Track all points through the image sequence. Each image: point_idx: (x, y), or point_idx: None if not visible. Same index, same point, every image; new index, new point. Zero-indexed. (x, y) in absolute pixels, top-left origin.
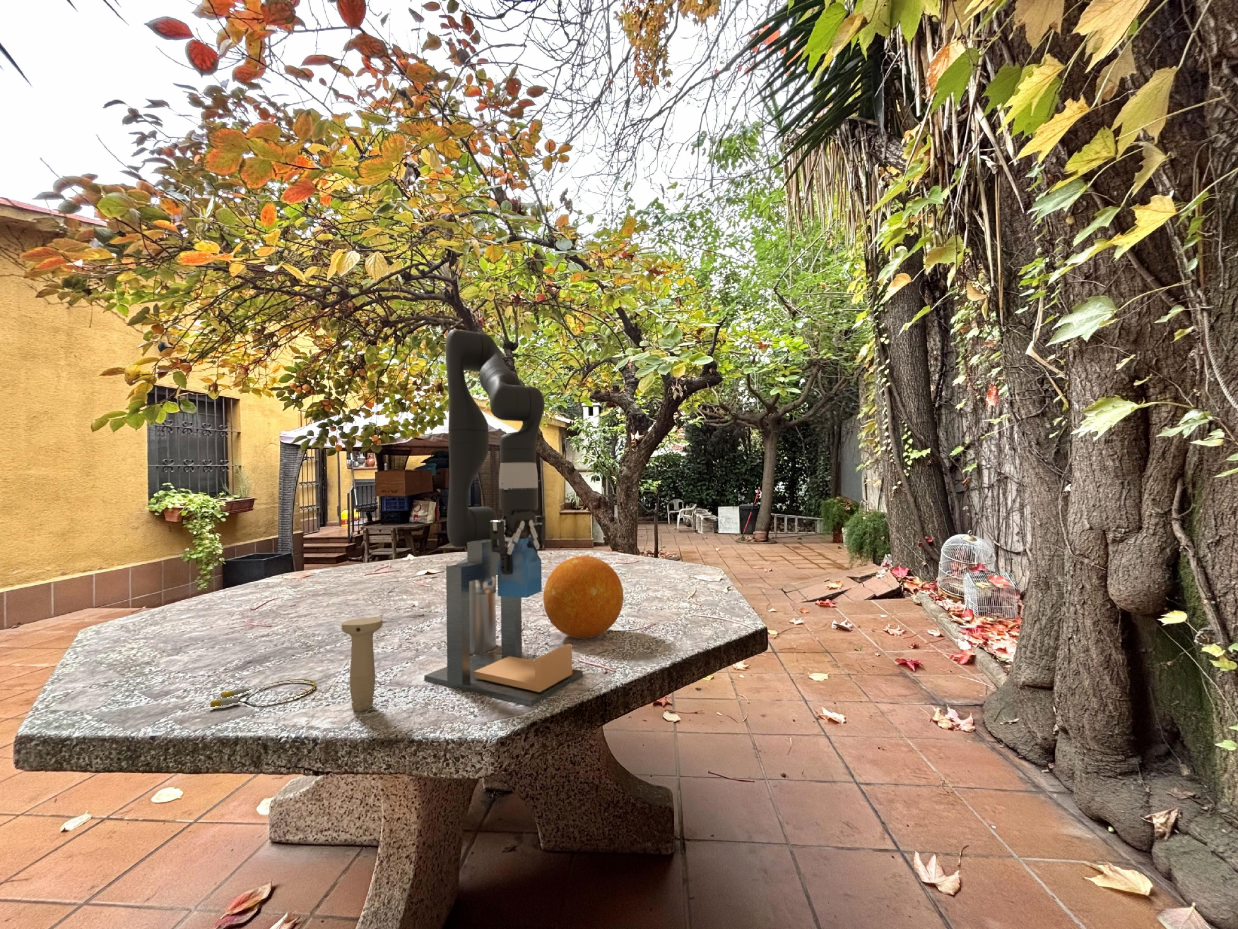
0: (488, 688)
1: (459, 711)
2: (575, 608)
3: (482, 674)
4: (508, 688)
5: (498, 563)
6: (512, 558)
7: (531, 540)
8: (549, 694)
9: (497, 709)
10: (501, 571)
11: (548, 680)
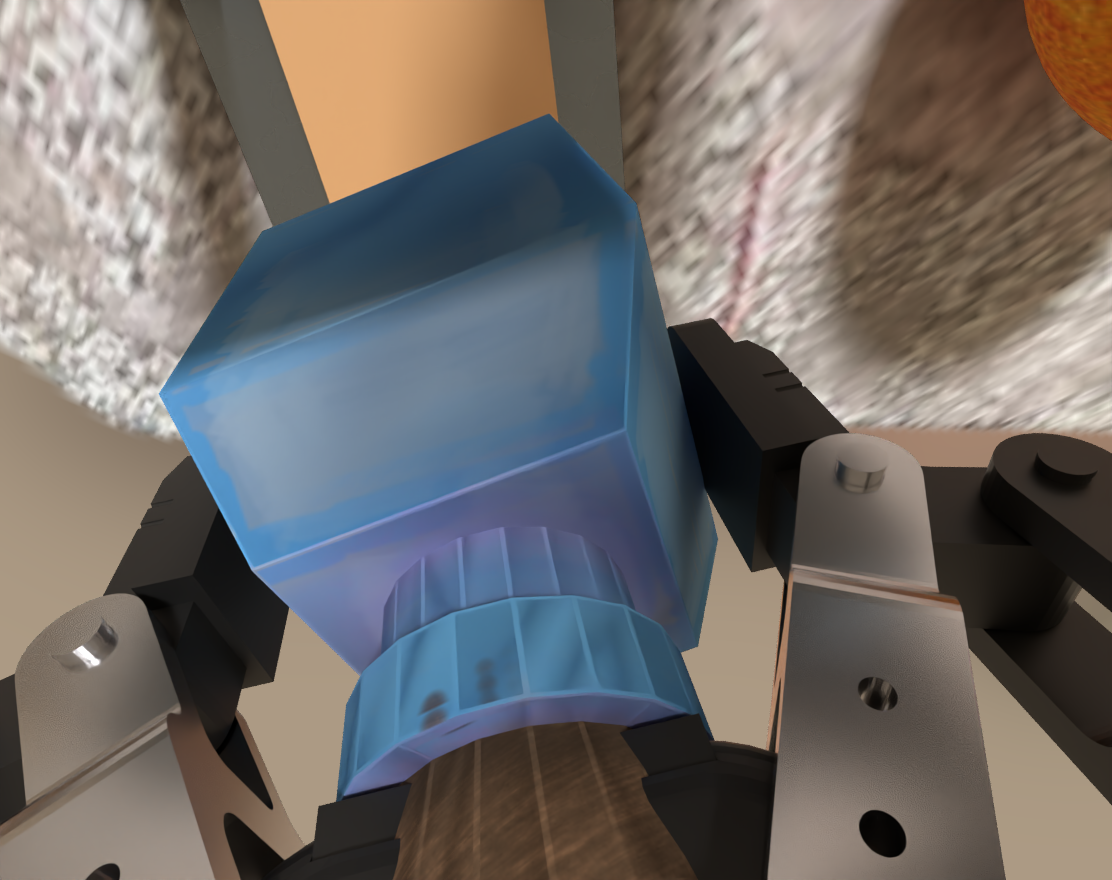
0: (260, 147)
1: (89, 196)
2: (1090, 21)
3: (272, 36)
4: None
5: (171, 410)
6: (282, 637)
7: (771, 711)
8: None
9: None
10: (187, 464)
11: None
